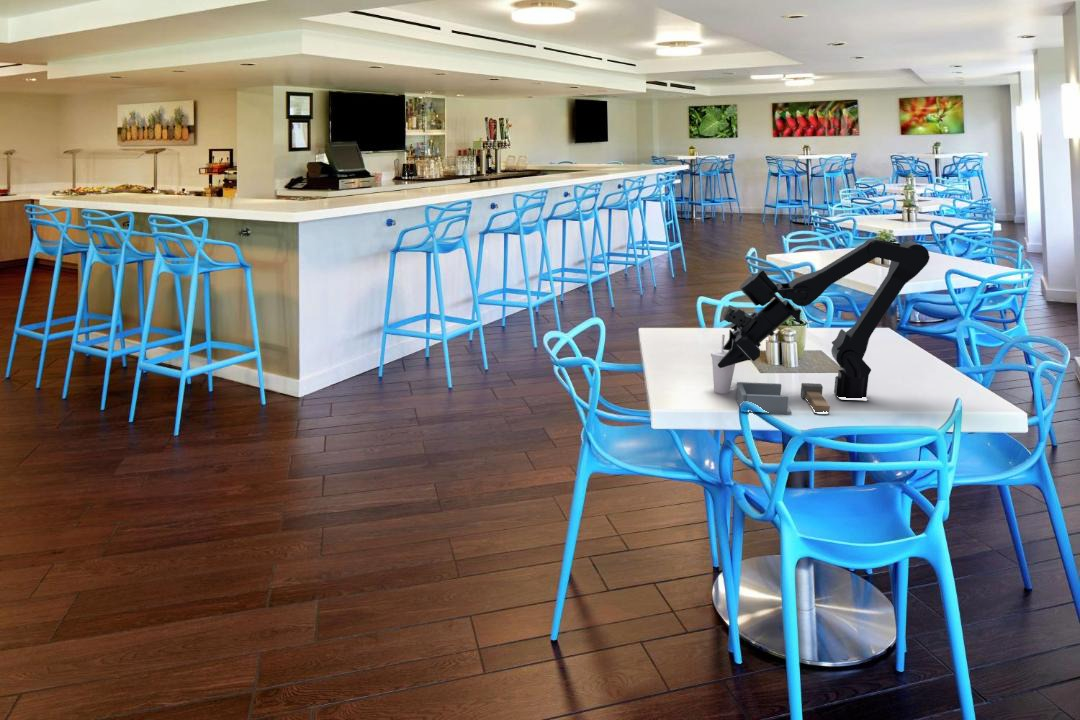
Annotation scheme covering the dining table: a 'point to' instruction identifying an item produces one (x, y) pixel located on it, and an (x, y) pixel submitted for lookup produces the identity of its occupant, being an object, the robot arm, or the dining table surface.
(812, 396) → the capped slat
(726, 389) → the smoothie
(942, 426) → the dining table surface
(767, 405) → the endcap cradle
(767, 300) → the robot arm
